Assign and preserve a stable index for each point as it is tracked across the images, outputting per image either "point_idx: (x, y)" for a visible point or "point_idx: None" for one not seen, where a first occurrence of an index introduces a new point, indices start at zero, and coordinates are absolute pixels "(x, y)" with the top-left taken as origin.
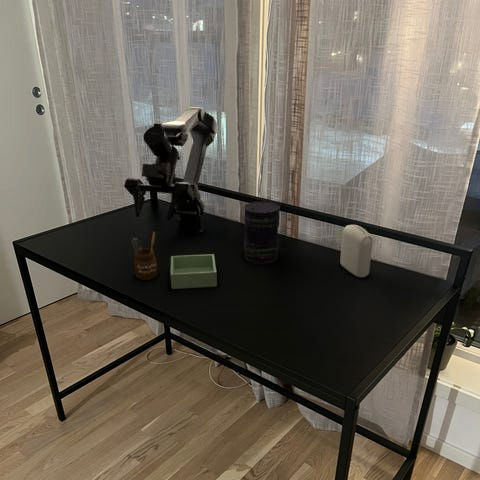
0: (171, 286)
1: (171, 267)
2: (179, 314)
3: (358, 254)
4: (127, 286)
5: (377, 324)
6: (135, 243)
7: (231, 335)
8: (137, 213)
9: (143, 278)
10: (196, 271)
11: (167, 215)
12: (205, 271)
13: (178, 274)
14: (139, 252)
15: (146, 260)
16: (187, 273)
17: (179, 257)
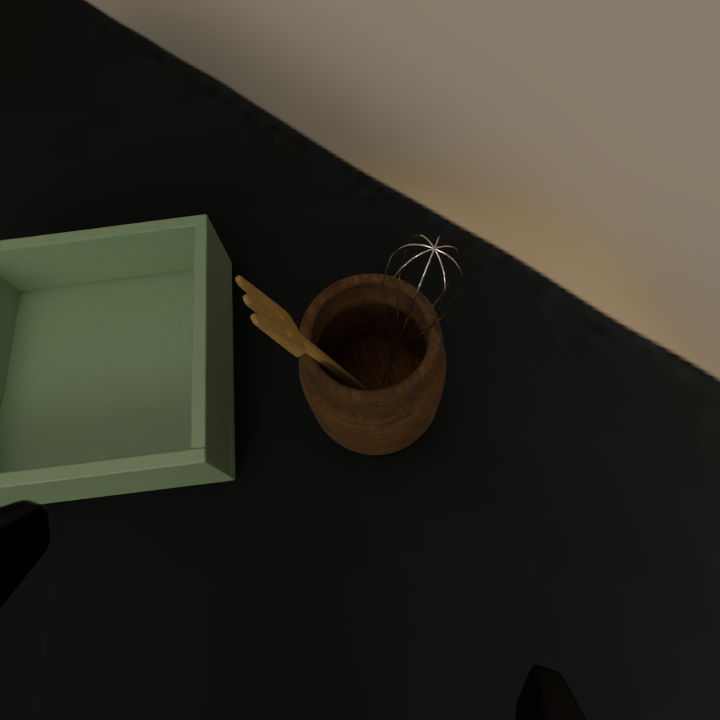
0: (227, 255)
1: (201, 292)
2: (198, 91)
3: None
4: (452, 282)
5: None
6: (437, 315)
7: (45, 7)
8: (536, 695)
9: (382, 337)
10: (89, 427)
11: (5, 522)
12: (39, 426)
13: (164, 220)
14: (397, 298)
15: (350, 301)
16: (115, 226)
17: (149, 455)
